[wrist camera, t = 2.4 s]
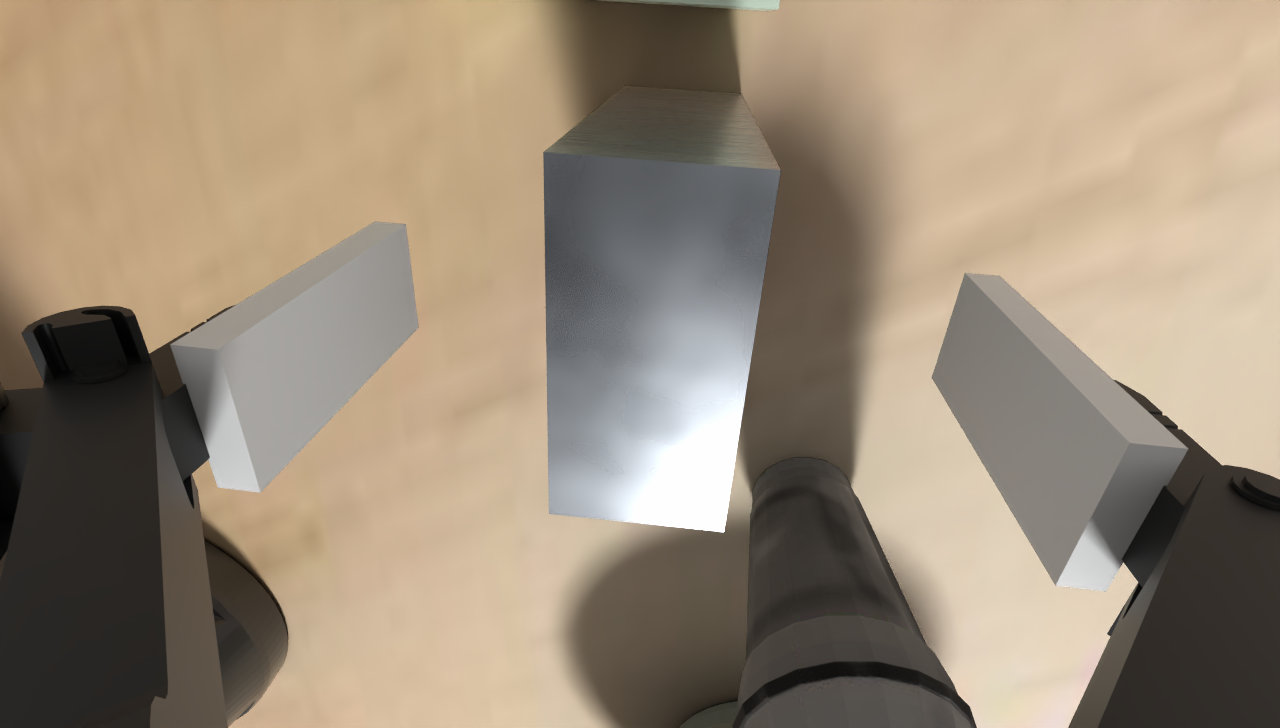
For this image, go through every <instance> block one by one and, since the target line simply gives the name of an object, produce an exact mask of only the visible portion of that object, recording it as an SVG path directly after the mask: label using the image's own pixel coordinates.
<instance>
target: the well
mask: <svg viewBox="0 0 1280 728" xmlns="http://www.w3.org/2000/svg"><path fill="white" fill-rule="evenodd" d="M598 1H614V2H630V3H646V4H662V5H678V6H694V7H710V8H726V9H742V10H758V11H771V10H777V9H779V3H780V0H598Z"/></svg>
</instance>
